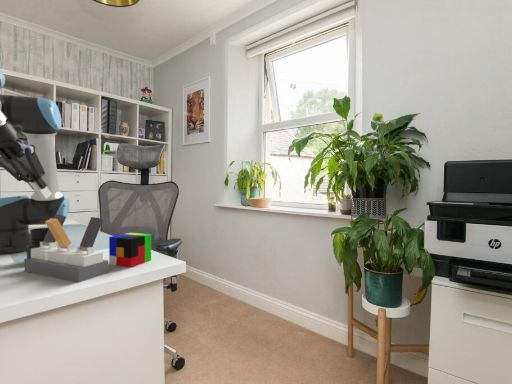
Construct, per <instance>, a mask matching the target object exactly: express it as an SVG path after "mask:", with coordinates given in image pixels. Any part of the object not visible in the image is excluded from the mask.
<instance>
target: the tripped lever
mask: <svg viewBox="0 0 512 384" xmlns="http://www.w3.org/2000/svg"><path fill="white" fill-rule="evenodd" d="M45 223H46V226H47V228H49V230H50V231H51V233H52V235H53V236H54V238H55V240H56V243H57V246H58V245H59V246H60V247H61V248H65V249H67V246H68V245H72V242H71V240H70V238H69V237H68V235H67V233H66V231H65V230H64V228H63V226H61V224H60V222H59V221H58V219H52V218H51V219H49V220H47V221H46V222H45Z"/></svg>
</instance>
